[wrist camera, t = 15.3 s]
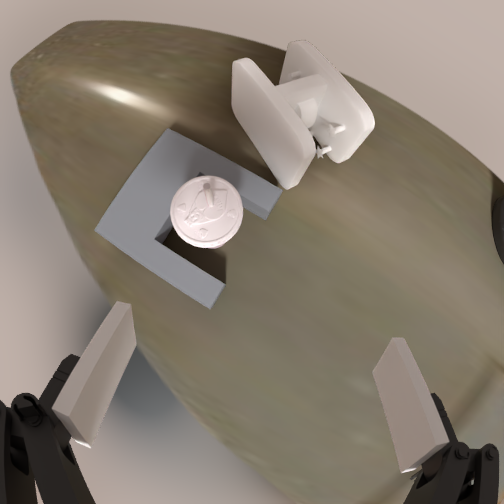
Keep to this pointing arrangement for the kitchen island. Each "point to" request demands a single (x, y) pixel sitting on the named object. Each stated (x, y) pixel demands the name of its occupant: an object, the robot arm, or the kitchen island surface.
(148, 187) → the notched board
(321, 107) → the cable organizer
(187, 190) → the smoothie
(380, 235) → the kitchen island surface
